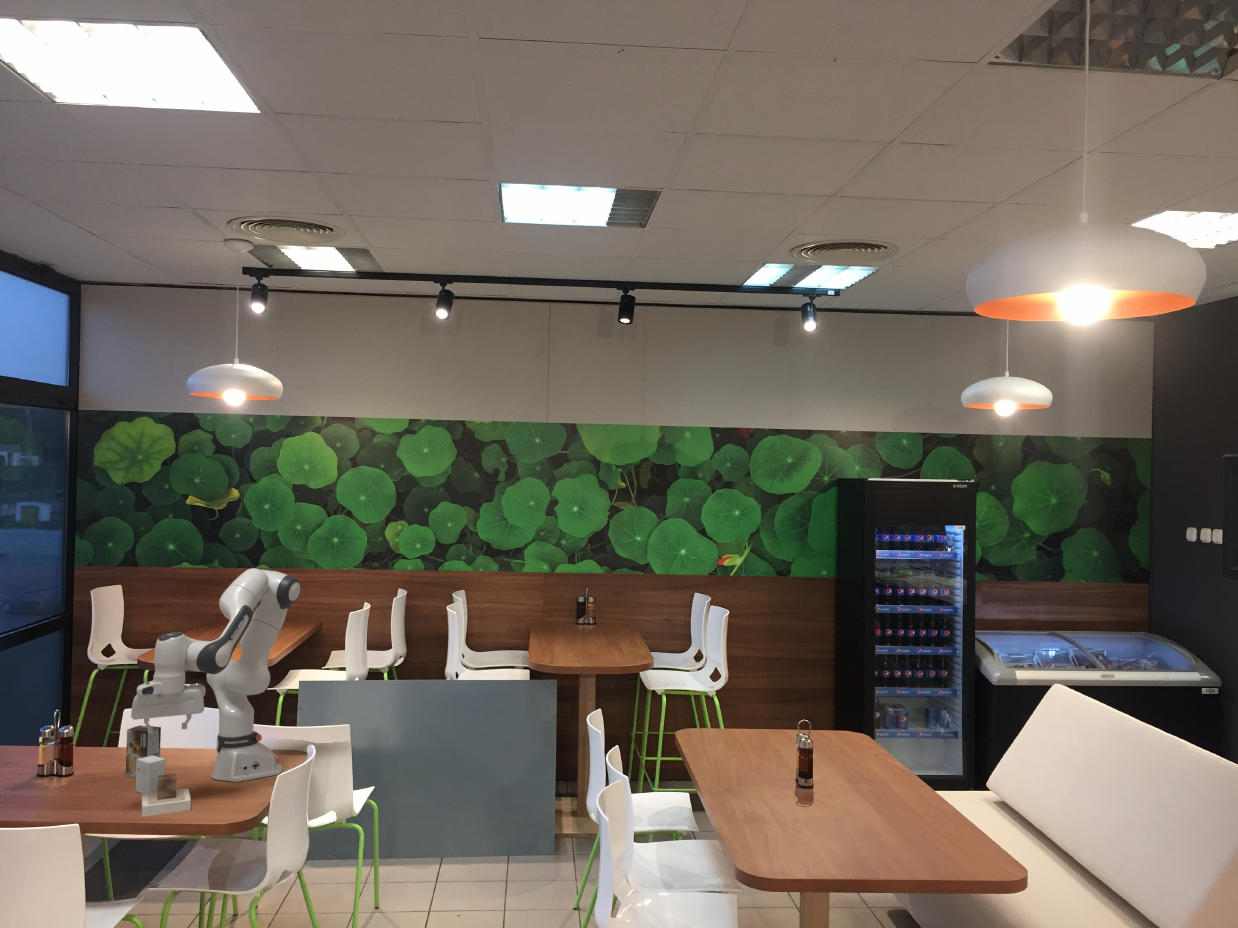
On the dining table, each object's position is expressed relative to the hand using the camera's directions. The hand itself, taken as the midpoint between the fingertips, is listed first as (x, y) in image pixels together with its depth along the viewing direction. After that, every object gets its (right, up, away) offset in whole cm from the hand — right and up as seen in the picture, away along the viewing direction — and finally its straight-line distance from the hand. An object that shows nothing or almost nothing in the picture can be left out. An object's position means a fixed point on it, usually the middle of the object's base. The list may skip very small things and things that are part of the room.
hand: (167, 730), depth 270 cm
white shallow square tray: (0, -23, -2) cm, 23 cm away
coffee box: (-24, -25, +30) cm, 46 cm away
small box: (-12, -24, +13) cm, 30 cm away
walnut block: (+1, -20, -2) cm, 20 cm away
